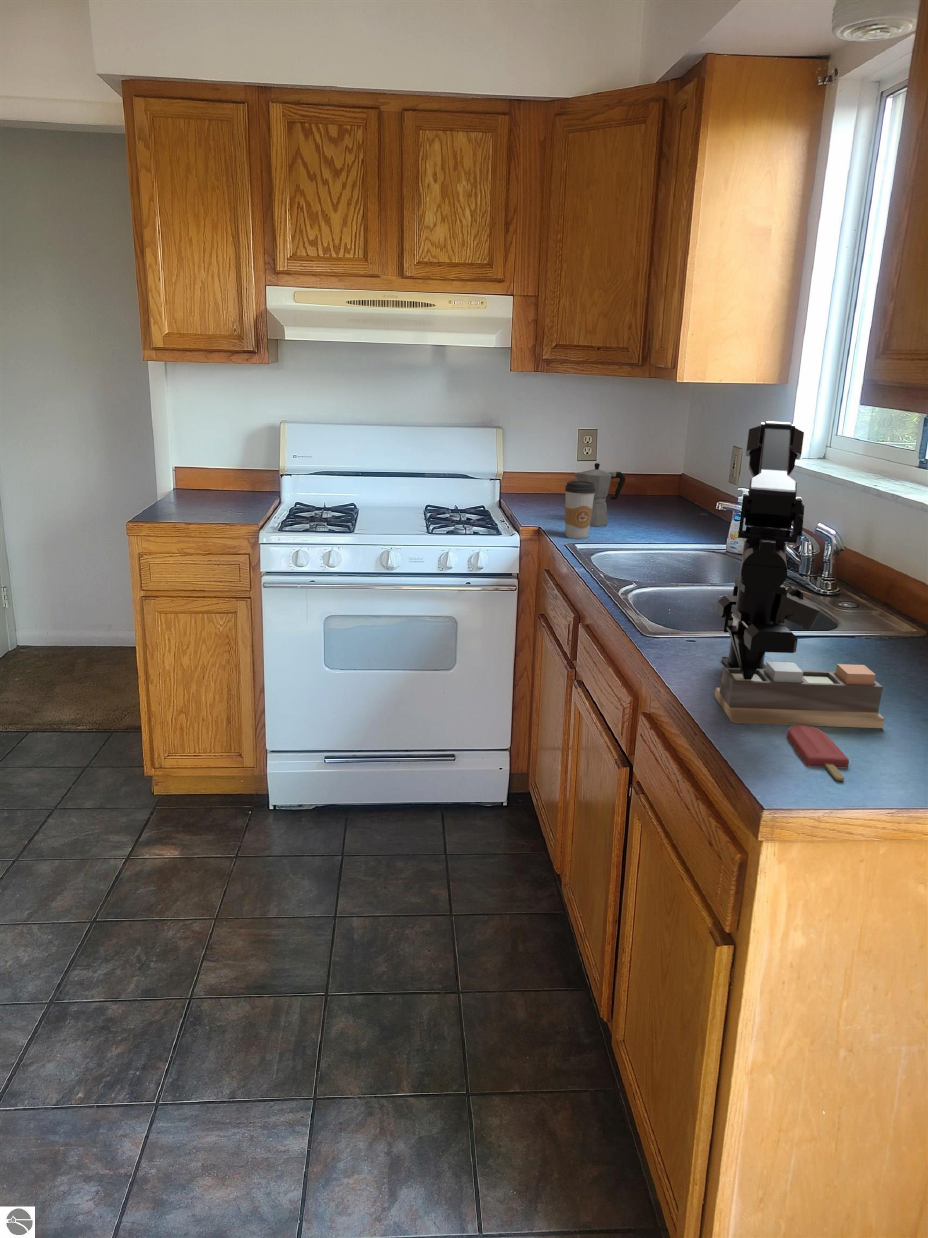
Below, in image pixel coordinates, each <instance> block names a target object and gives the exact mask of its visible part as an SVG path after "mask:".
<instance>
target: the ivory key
mask: <svg viewBox="0 0 928 1238" xmlns="http://www.w3.org/2000/svg"><path fill="white" fill-rule="evenodd" d="M731 674H732V675H733V677H734V678H735V679H736V680H742V681H762V680H761V679H760V677H759V676H758V675H757V674H754V675H753V678H752V679H744V678H743V676H742V674H735V673H731Z"/></svg>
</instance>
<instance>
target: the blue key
mask: <svg viewBox="0 0 928 1238" xmlns="http://www.w3.org/2000/svg"><path fill="white" fill-rule="evenodd" d="M765 665H766V670H765V674H766V675H767V676H768V677H769V678H770V679H771V680H772V682H800V683H802V677H803V671H802V669H801V668H800V667H799V666H798V665H797V664H796V663H795V662H789V661H787V662H785V661H766V664H765Z"/></svg>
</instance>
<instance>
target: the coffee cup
mask: <svg viewBox="0 0 928 1238" xmlns="http://www.w3.org/2000/svg"><path fill="white" fill-rule="evenodd" d="M564 492H565V495H564V496H565V501H564V502H565V505H564V524H565V526H564V527H565V531H564V532H565V536H566V538H569V539H574V540H575V539H576V540H584V539H587V538H588V536H589V534H590V527H591V526H590V523H591V516H592V509H593V508H592V506H593V499H594V493H595V487H594V483H592V482H588V481H578V480H568V481H567V483H566V485H565V489H564Z"/></svg>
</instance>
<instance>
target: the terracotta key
mask: <svg viewBox="0 0 928 1238" xmlns="http://www.w3.org/2000/svg"><path fill="white" fill-rule="evenodd" d="M835 672H836V673H835V675H836V676H837V677H838V678H839V679H840V680H841V681H842V682H843V683H844V684H857V685H874V681H876V675H877V674H876V673H874V672H873V671H872V670H871V669H870V668H868V666H866V665H865V664H846V663H837V664H836V668H835Z"/></svg>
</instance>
